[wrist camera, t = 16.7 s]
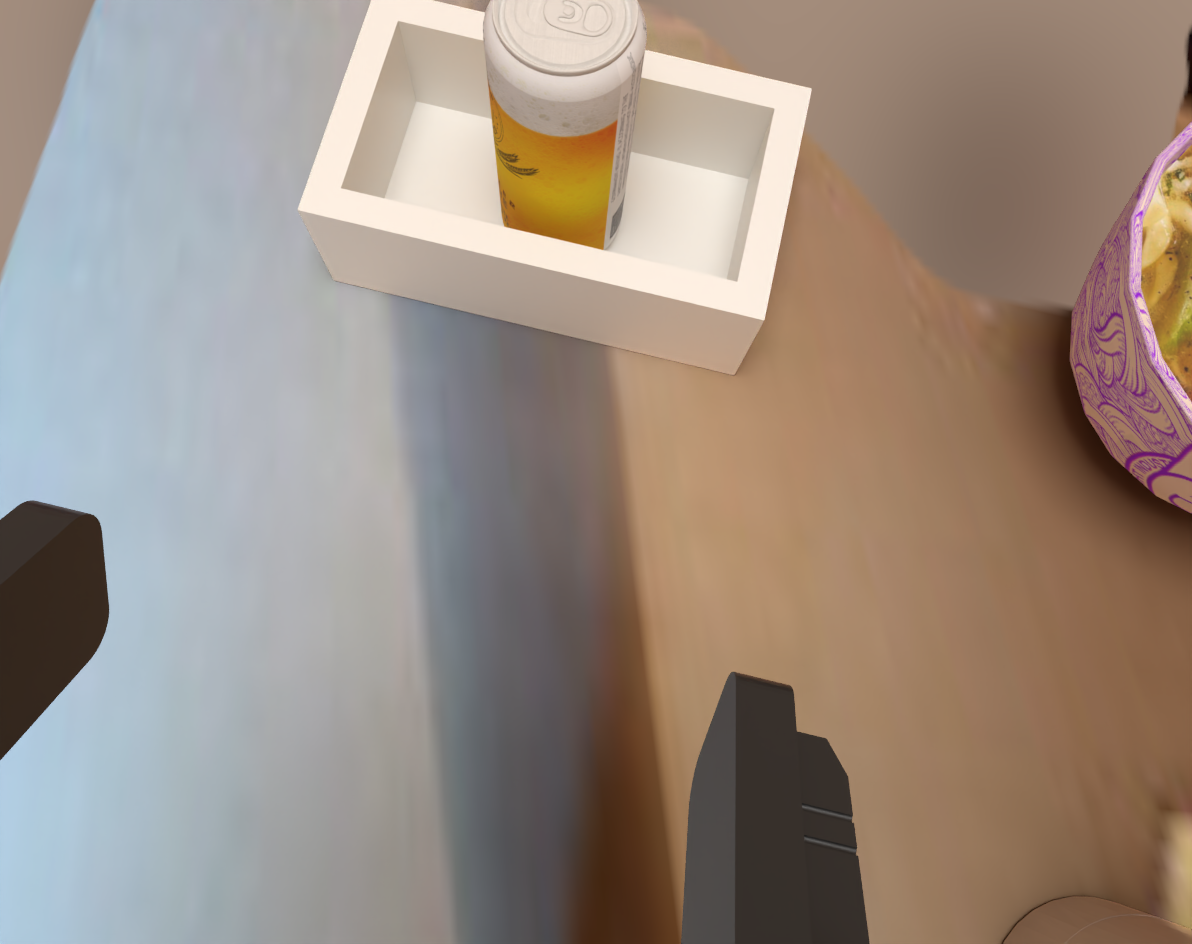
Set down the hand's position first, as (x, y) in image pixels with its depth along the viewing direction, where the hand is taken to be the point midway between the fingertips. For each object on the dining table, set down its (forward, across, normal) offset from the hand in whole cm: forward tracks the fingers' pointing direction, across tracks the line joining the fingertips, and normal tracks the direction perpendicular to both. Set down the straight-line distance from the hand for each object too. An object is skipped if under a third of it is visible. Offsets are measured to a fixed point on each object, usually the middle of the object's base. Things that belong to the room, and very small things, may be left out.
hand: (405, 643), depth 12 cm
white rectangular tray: (+40, +4, +6) cm, 40 cm away
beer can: (+39, +3, +6) cm, 40 cm away
